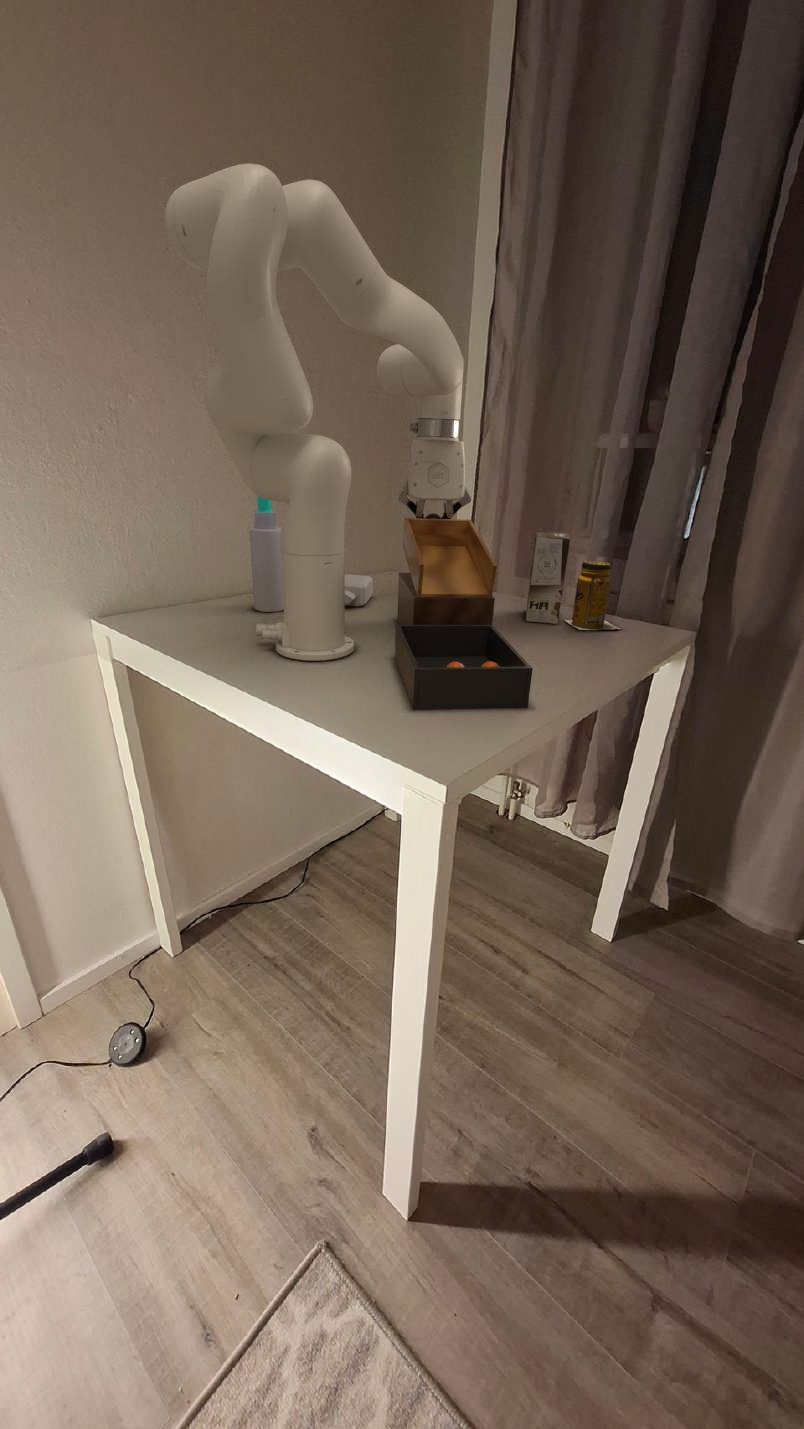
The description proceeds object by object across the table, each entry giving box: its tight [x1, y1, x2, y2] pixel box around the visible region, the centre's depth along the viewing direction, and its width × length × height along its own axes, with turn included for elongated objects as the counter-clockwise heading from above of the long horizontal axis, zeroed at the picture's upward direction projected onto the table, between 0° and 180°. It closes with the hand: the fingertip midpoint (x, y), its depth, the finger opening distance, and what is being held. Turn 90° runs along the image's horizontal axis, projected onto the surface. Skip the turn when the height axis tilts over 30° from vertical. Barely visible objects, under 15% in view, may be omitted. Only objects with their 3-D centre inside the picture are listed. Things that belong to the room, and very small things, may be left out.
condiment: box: [564, 560, 622, 631], centre depth 117 cm, size 7×8×12 cm
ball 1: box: [447, 662, 464, 667], centre depth 86 cm, size 3×3×3 cm
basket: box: [394, 624, 534, 711], centre depth 87 cm, size 15×20×6 cm
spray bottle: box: [248, 495, 284, 613], centre depth 117 cm, size 6×6×22 cm
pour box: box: [402, 512, 498, 598], centre depth 106 cm, size 12×26×5 cm, turn 7°
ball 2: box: [481, 661, 499, 667], centre depth 87 cm, size 3×3×3 cm
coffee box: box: [525, 531, 571, 625], centre depth 120 cm, size 9×6×16 cm
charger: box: [345, 573, 374, 608], centre depth 127 cm, size 5×9×15 cm
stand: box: [396, 572, 496, 625], centre depth 108 cm, size 13×20×9 cm, turn 7°
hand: (432, 538), depth 115 cm, fingers closed on pour box, 3 cm apart
